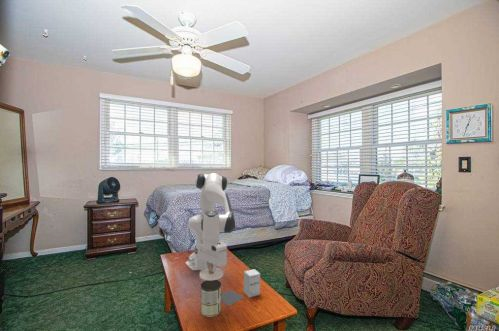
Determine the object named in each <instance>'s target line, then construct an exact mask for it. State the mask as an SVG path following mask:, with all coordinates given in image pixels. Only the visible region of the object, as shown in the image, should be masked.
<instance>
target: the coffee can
mask: <svg viewBox="0 0 499 331" xmlns="http://www.w3.org/2000/svg"><path fill="white" fill-rule="evenodd" d="M221 289H222V283H221V281H220V280H219V279H217V280H212V281H207V280H203V281H202V282H201V283H200V314H201V315H202V316H203V317H207V318H209V317H210V318H211V317H216V316H218V315H219V314H220V313H221V310H222V309H221V308H222V306H221V304H222V303H221V294H222V290H221Z"/></svg>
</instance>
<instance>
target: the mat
mask: <svg viewBox="0 0 499 331" xmlns="http://www.w3.org/2000/svg"><path fill="white" fill-rule="evenodd" d="M244 298H245V296H244V295H242V294H239V293H238V292H236V291H234V290H232V289H229V290H227V291H224V292H221V302H222V303H223V304H224V305H226V306H228V307H230V306H232V305H234V304H235V303H237V302H240V301H241V300H242V299H244Z"/></svg>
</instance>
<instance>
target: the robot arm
mask: <svg viewBox="0 0 499 331" xmlns="http://www.w3.org/2000/svg"><path fill="white" fill-rule="evenodd" d="M194 183H195V187H196V188H197V189H199V190H200V196H199V203H198V207H199V208H200V209H202V210H201V211H202V213H201V214H197V215H194V216H192V217H190V218H189V219H188V222H187V226H188V228H189V229H190V230H191V231H192V232H193V233H194V237H195V247H193V249H194V251H193V252H192V253H191V254H190V255H189V256H188V260H187V261H185V265H186V266H187V267H188V268H190V270H192V271H202V270H204V269H208V270H209V264H210V263H212V264H213V268H212V271H213V272H216V268H223V267H225V266H226V265H227V264H228V251H227V250H228V246H227V244H226V243H225V242H223V240H222V239H221V235H220V233H227V234H231V233H232V232H234V231H235V229H236V225H237V223H236V222H237V221H236V217H235V215H234V213H233V208H232V205H231V200H230V198H229V195H228V193H227V192H225V191H226V189H227V187H228V179H227V177H226V176H224V175H223V176H222V175H219V173H215V172H211V173H208V174H207V173H206V174H204V173H199V174H197V175H196V177H195V180H194ZM215 203H216V204H219V205H221V206H222V207H223V210H224V214H219V212H218V211H217V210H216V211H215V205H216V204H215Z"/></svg>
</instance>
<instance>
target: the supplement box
mask: <svg viewBox="0 0 499 331" xmlns="http://www.w3.org/2000/svg"><path fill="white" fill-rule="evenodd" d="M243 293H244V294H245V295H246V296H247V297H248V298H253V297H256V296H260V294H261V272H259V271H258V270H256V269H255V268H254V269H250V270H244V271H243Z"/></svg>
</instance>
